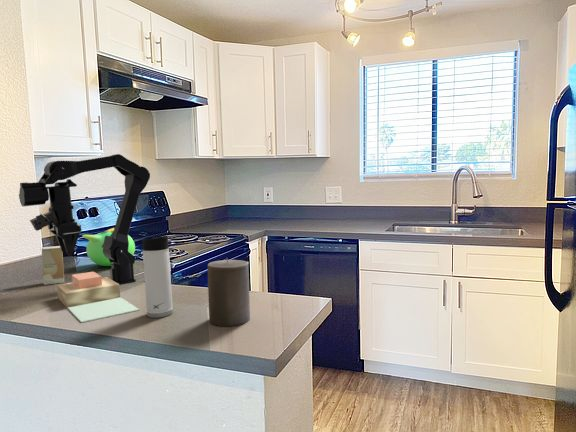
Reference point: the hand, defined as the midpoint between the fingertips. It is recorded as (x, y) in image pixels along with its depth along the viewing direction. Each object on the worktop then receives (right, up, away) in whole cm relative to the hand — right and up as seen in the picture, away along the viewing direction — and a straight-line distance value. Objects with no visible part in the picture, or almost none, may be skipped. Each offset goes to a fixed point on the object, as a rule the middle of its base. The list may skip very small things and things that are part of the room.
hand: (66, 253), depth 136 cm
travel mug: (+35, -13, -24) cm, 45 cm away
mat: (+18, -13, -18) cm, 29 cm away
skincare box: (-11, -11, +15) cm, 22 cm away
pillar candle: (+54, -13, -30) cm, 63 cm away
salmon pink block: (+9, -7, -6) cm, 13 cm away
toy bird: (-2, -8, +40) cm, 41 cm away
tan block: (+10, -12, -6) cm, 17 cm away
